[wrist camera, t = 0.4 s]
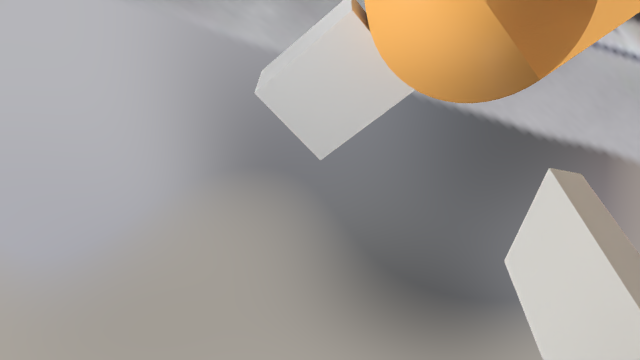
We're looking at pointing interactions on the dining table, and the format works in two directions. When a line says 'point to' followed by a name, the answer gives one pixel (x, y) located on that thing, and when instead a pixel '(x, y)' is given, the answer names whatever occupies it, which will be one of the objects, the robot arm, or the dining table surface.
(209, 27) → the dining table surface
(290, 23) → the dining table surface
